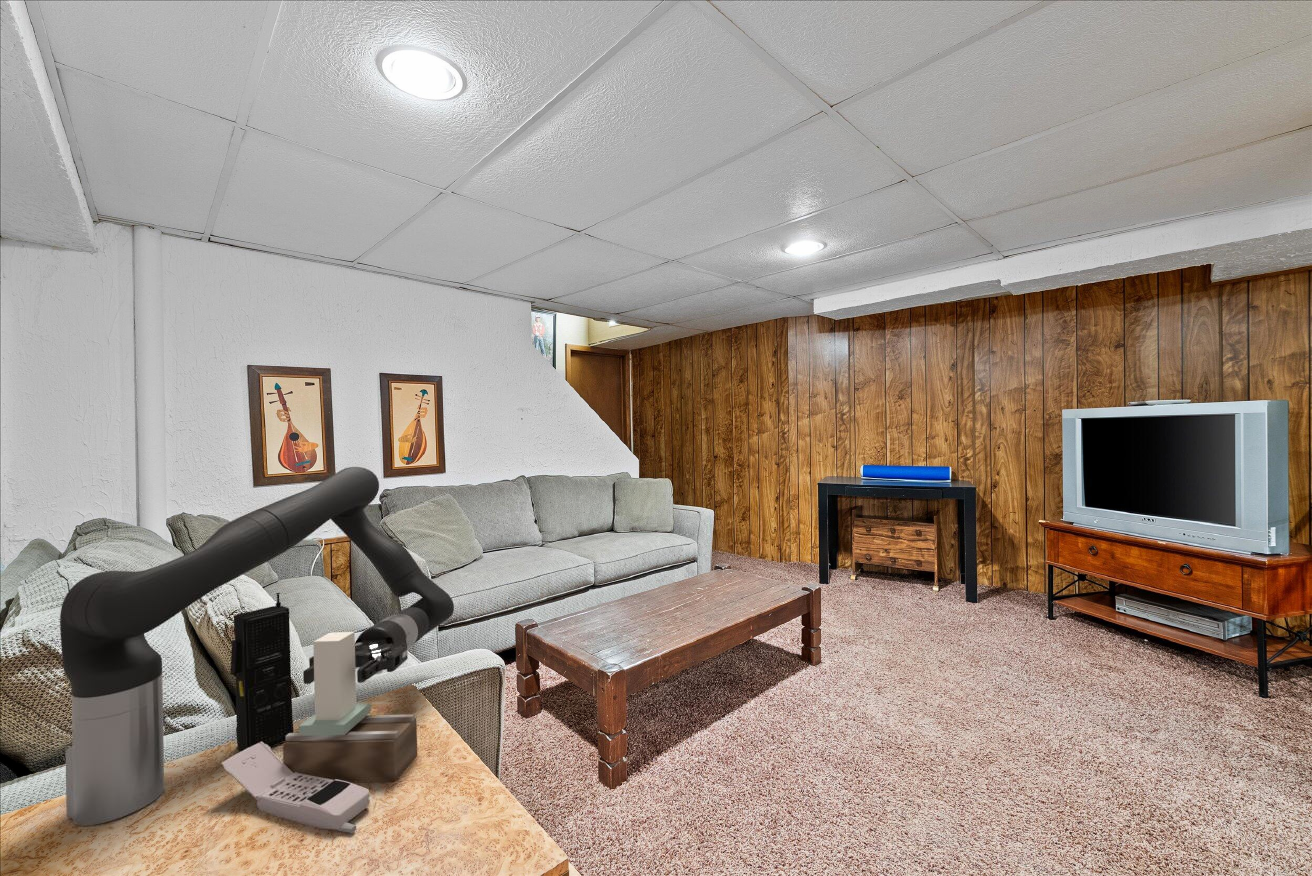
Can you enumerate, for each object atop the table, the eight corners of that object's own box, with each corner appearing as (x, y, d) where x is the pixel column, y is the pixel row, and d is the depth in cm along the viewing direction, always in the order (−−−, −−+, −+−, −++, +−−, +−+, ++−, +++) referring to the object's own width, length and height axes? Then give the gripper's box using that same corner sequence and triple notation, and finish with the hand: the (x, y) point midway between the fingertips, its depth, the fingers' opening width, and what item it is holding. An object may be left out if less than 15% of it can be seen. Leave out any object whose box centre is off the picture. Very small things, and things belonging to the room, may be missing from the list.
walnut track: (283, 783, 80) (282, 737, 80) (315, 756, 87) (314, 714, 87) (394, 781, 79) (393, 735, 79) (417, 754, 86) (416, 712, 86)
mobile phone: (260, 739, 82) (383, 766, 73) (262, 778, 82) (385, 809, 73) (216, 762, 76) (344, 794, 67) (218, 804, 76) (346, 841, 67)
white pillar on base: (298, 735, 80) (296, 645, 80) (328, 712, 87) (327, 629, 87) (344, 734, 80) (342, 644, 80) (371, 711, 87) (368, 628, 87)
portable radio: (241, 761, 86) (238, 606, 87) (227, 751, 89) (224, 602, 90) (295, 738, 93) (292, 594, 93) (280, 729, 96) (277, 590, 96)
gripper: (350, 620, 99) (287, 654, 83) (425, 618, 99) (376, 651, 83) (351, 661, 99) (288, 702, 83) (426, 659, 99) (378, 700, 82)
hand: (332, 677), depth 83 cm, fingers open, 8 cm apart
